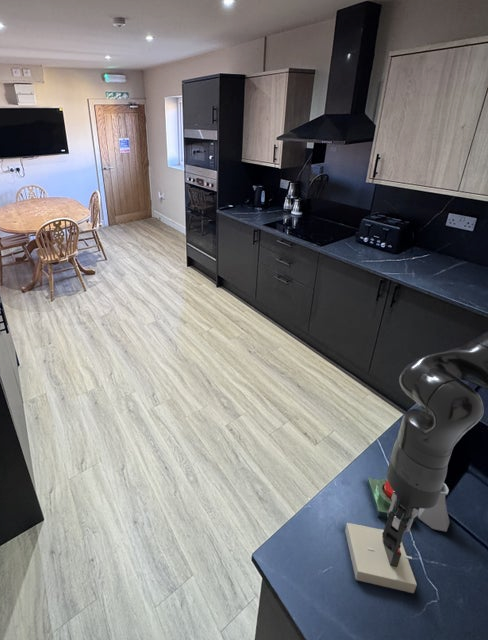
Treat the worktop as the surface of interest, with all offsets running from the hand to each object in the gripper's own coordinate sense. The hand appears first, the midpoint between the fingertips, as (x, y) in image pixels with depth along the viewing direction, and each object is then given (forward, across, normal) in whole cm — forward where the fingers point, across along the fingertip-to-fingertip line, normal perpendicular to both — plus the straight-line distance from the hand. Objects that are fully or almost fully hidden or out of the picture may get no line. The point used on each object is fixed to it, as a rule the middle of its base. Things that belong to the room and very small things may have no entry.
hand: (398, 528), depth 61 cm
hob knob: (+16, +5, +1) cm, 16 cm away
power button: (+15, +19, +4) cm, 24 cm away
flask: (+19, +23, -3) cm, 30 cm away
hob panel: (+19, +4, +2) cm, 19 cm away
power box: (+19, +19, +4) cm, 27 cm away
